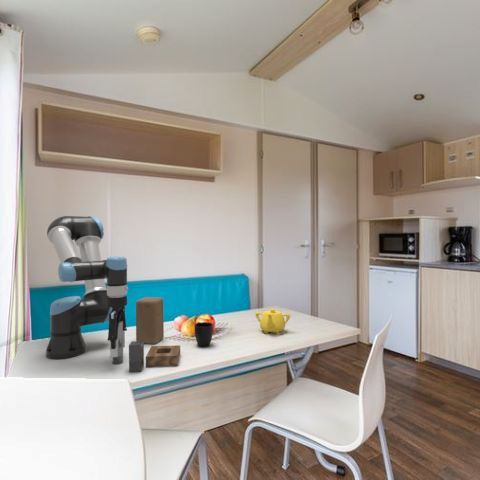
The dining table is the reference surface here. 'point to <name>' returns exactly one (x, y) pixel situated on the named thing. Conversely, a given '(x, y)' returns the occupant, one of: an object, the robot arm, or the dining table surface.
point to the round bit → (119, 345)
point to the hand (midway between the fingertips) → (117, 351)
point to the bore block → (163, 356)
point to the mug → (203, 333)
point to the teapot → (272, 321)
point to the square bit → (136, 356)
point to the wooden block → (149, 320)
